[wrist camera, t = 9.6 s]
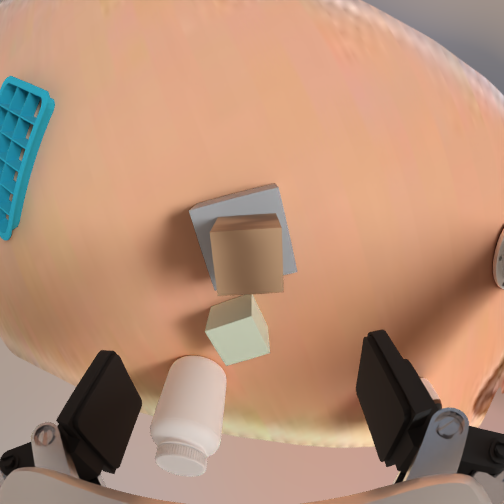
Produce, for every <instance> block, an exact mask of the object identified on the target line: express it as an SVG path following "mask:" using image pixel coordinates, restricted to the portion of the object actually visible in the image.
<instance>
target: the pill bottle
mask: <svg viewBox="0 0 504 504" xmlns="http://www.w3.org/2000/svg"><path fill="white" fill-rule="evenodd" d="M226 384H227V382H226V375H225V372H224V371H223V369H222V368H221V367H220V366H219V365H218V364H217V363H216V362H214V361H212V360H210V359H208V358H205V357H202V356H194V355H192V356H184V357H181V358H179V359H177V360H176V361H175V362H174V363H173V364H172V366H171V368H170V369H169V372H168V375H167V378H166V381H165V384H164V387H163V390H162V393H161V395H160V398H159V401H158V404H157V407H156V410H155V414H154V417H153V420H152V423H151V426H150V432H151V437H152V439H153V441H154V442H155V444H156V445H157V453H156V456H155V461H156V463H157V465H158V466H160V467H161V468H162V469H164V470H166V471H168V472H170V473H173V474H176V475H182V476H199V475H202V474H203V473H204V472H205V471H206V467H207V457H209V456H211V455H213V454H214V453H215V452H216V451H217V450H218V448H219V446H220V443H221V434H222V424H223V414H224V404H225V394H226Z"/></svg>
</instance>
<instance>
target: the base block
mask: <svg viewBox="0 0 504 504" xmlns="http://www.w3.org/2000/svg"><path fill="white" fill-rule="evenodd" d="M189 213H190V216H191V219H192V223H193V226H194V229H195V232H196V235H197V238H198V242H199V245H200V248H201V251H202V254H203V257H204V260H205V263H206V266H207V269H208V272H209V275H210V278H211V281H212V284H213V287H214V290H215V291H216V290H217V288H216V280H215V272H214V264H213V256H212V248H211V239H210V231H211V229H212V227H213V225H214V224H215V222H216V220H217V218H218V217H224V216H238V215H253V214H269V213H276V215H277V217H278V220H279V222H280V225H281V227H282V250H283V275H286V274H290V273H295V272H297V267H296V263H295V258H294V253H293V249H292V244H291V240H290V235H289V231H288V226H287V222H286V217H285V213H284V209H283V204H282V200H281V196H280V192H279V188H278V186H277V185H276V184H275V183H274V184H270V185H266V186H262V187H258V188H253V189H250V190H246V191H242V192H238V193H234V194H230V195H226V196H223V197H219V198H215V199H212V200H208V201H204V202H201V203H197V204H196V205H195V206H194V207H192V208H191V209H190V210H189Z"/></svg>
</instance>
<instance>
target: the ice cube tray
mask: <svg viewBox="0 0 504 504" xmlns="http://www.w3.org/2000/svg"><path fill="white" fill-rule="evenodd" d="M26 98H27V99H26ZM40 99H42V104H41V108H40V111H39V113H38V115H37V118H35V117H34V114H35V111H36V109H37V106H38V104H39V102H40ZM54 106H55V102H54V99H52V98H50V96H49V93H48V91H46V90H44V89H41V88H39V87H37V86H34V85H32V84H30V83H27V82H25V81H22V80H20V79H18V78H15V77H13V76H9V77H7V78H6V79H5V81H4V82H3V84H2V87H1V89H0V237H1V238H2V239H3V240H9V239H10V237H11V234H12V230H13V229H15V228H16V227H18V225H19V222H20V217H21V212H22V207H23V203H24V198H25V194H26V190H27V186H28V182H29V179H30V175H31V172H32V168H33V165H34V162H35V159H36V155H37V152H38V149H39V147H40V144H41V141H42V138H43V135H44V133H45V130H46V128H47V125H48V123H49V120H50V118H51V115H52V113H53V111H54ZM17 121H18V122H17ZM16 124H17V125H16ZM30 124H33V125H34V126H33V128H32V131H31V134H30V137H29V140H28V139H26V135H27V132H28V129H29V127H30ZM10 142H11V143H10ZM22 147H23V148H24V149H25V152H24V155H23V159H22V161H20V160H19V157H20V153H21V150H22ZM8 149H9V150H8ZM15 171H17V172H18V177H17V181H16V182H15V181H14V180H13V179H14V175H15ZM10 193H11V194H13V198H12V202H11V201H10V200H9V197H10ZM6 214H7V215H9V220H7V219H6Z"/></svg>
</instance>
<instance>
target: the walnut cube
mask: <svg viewBox="0 0 504 504" xmlns="http://www.w3.org/2000/svg"><path fill="white" fill-rule="evenodd" d="M210 239H211V248H212V256H213V264H214V272H215V280H216V288H217V295H218V296H227V295H246V294H263V293H279V292H284V287H283V250H282V227H281V225H280V222H279V220H278V217H277V215H276V213H269V214H253V215H238V216H224V217H218V218H217V220H216V222H215V224H214V225H213V227H212V229H211V231H210Z"/></svg>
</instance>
